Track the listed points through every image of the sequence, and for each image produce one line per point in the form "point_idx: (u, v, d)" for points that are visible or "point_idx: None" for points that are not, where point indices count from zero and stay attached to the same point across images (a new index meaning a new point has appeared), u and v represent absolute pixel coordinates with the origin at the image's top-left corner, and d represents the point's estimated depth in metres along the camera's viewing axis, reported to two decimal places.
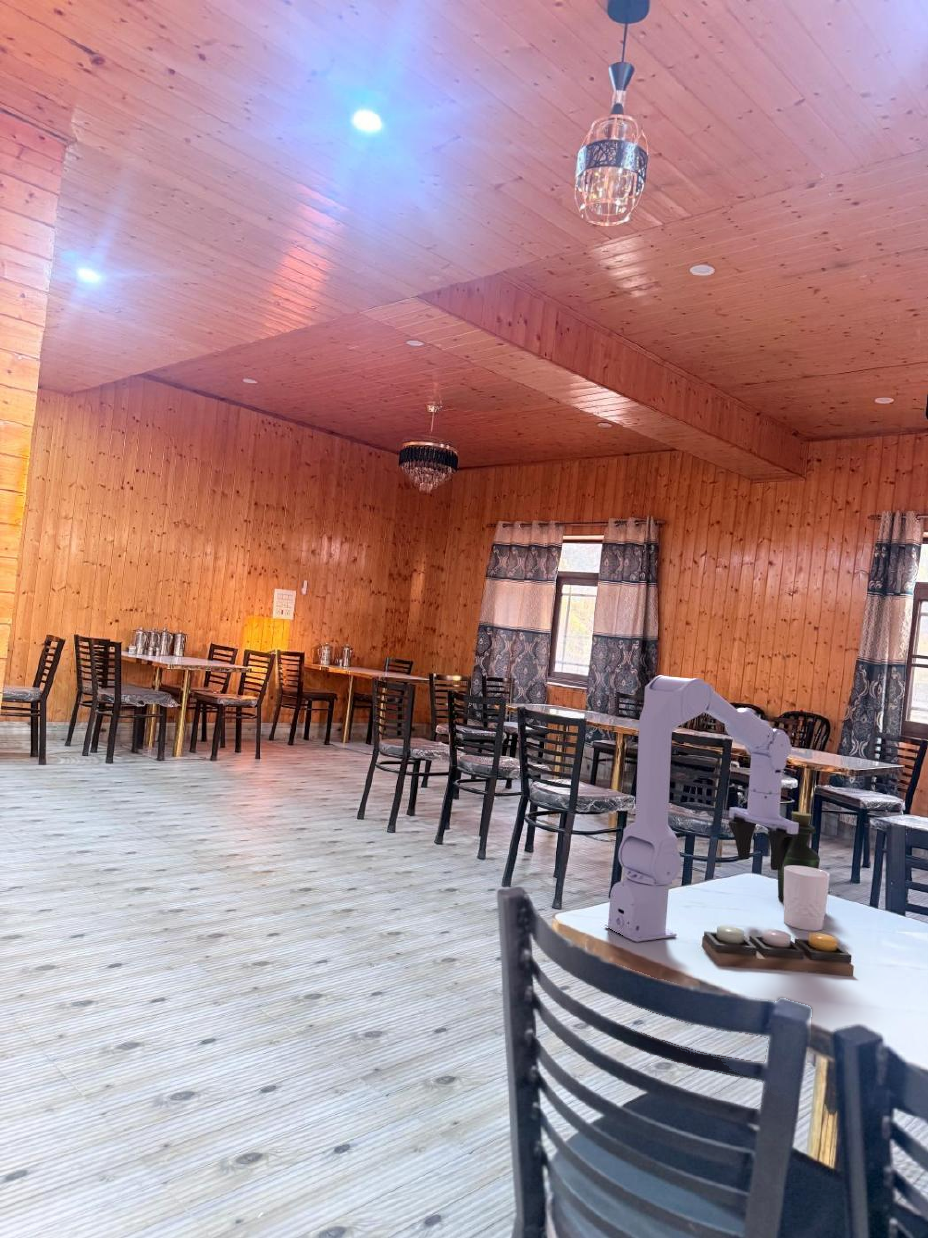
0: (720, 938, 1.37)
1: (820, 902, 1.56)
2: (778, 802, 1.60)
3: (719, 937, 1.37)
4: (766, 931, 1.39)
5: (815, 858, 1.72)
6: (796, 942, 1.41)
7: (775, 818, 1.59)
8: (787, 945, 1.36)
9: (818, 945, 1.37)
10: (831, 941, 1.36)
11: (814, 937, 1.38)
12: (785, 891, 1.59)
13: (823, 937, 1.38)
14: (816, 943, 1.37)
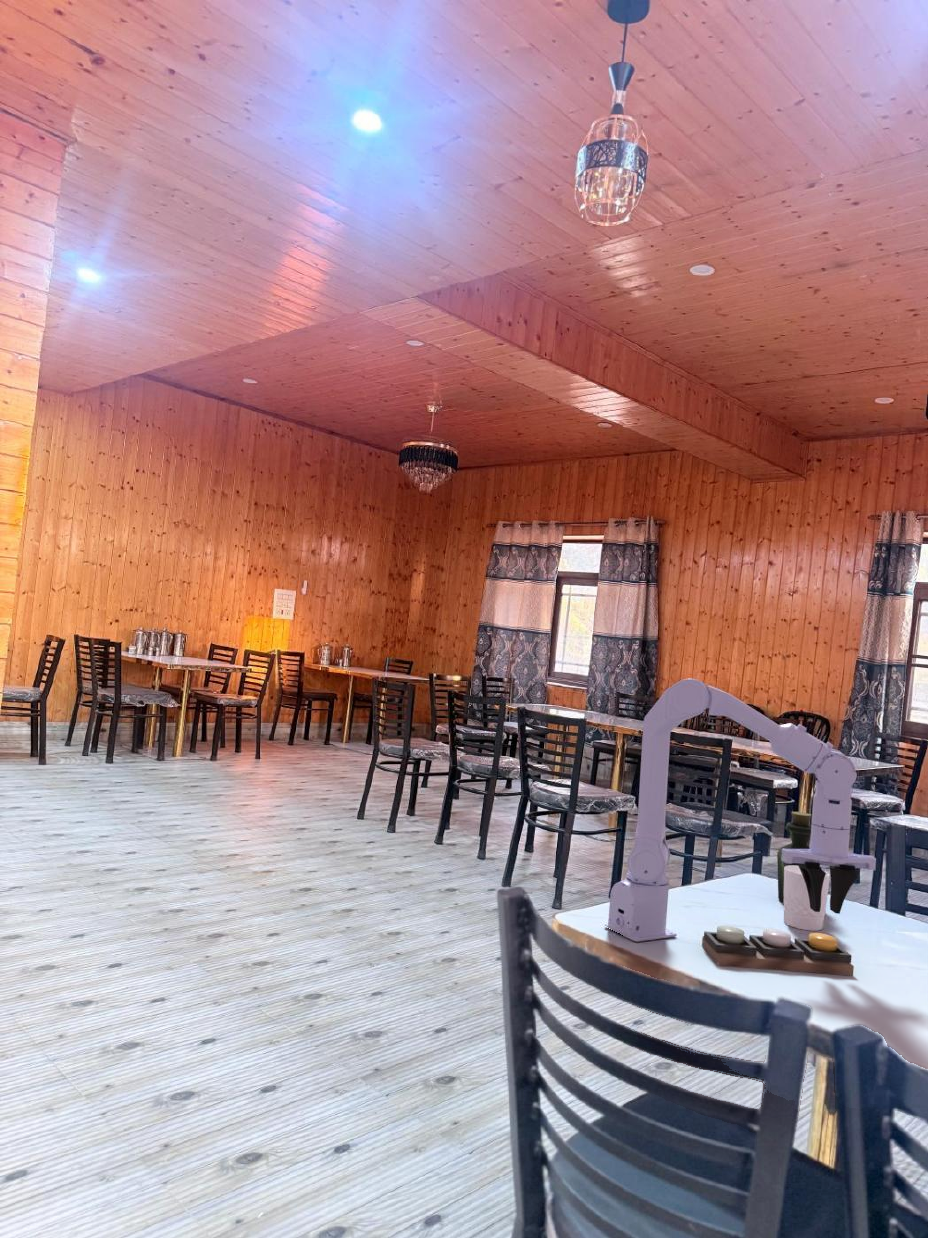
0: (720, 938, 1.37)
1: None
2: (814, 835, 1.38)
3: (719, 937, 1.37)
4: (766, 931, 1.39)
5: None
6: (796, 942, 1.41)
7: (809, 851, 1.39)
8: (787, 945, 1.36)
9: (818, 945, 1.37)
10: (831, 941, 1.36)
11: (814, 937, 1.38)
12: (785, 891, 1.59)
13: (823, 937, 1.38)
14: (816, 943, 1.37)
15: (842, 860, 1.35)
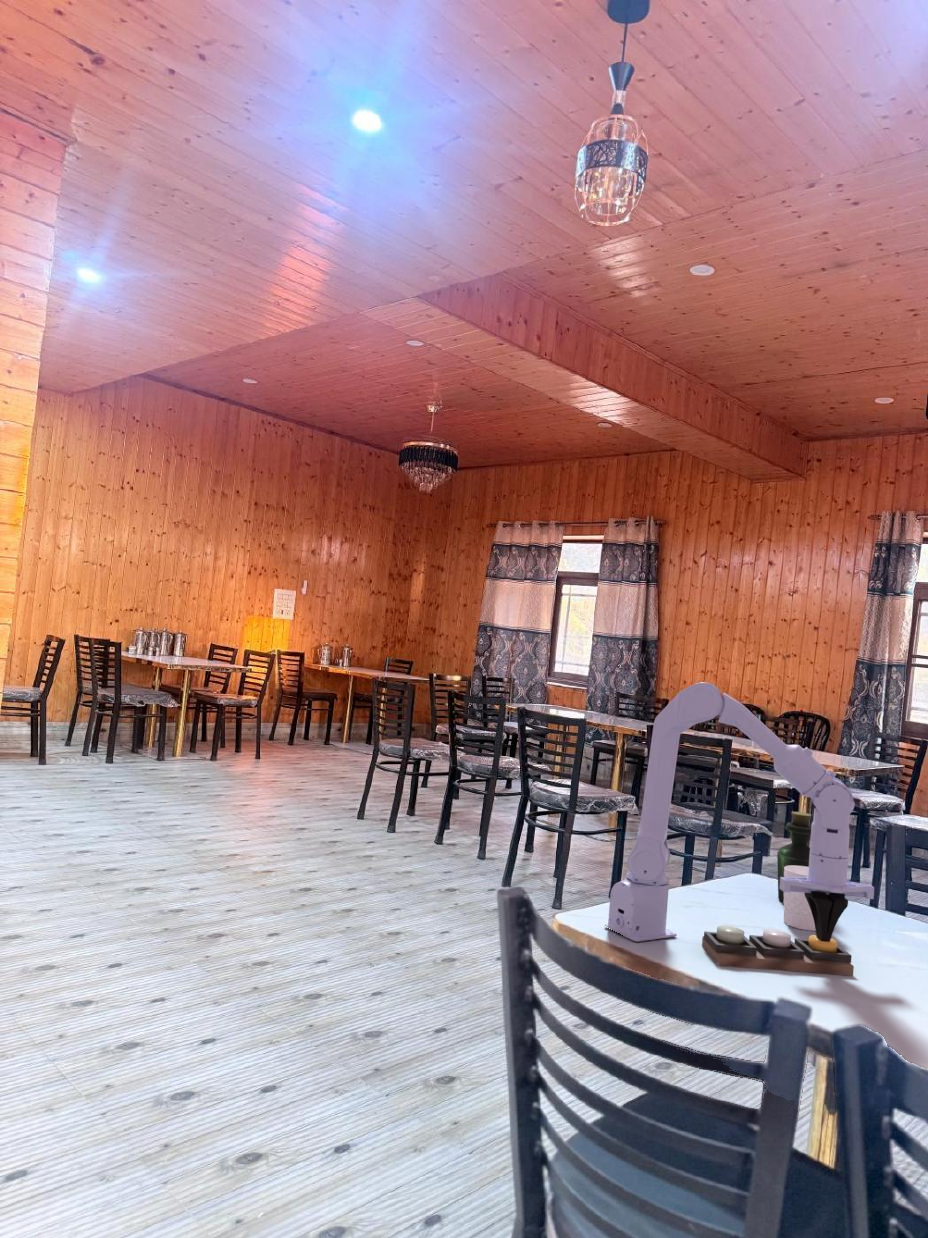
0: (720, 938, 1.37)
1: None
2: (813, 863, 1.38)
3: (719, 937, 1.37)
4: (766, 931, 1.39)
5: None
6: (796, 942, 1.41)
7: (808, 880, 1.39)
8: (787, 945, 1.36)
9: (817, 947, 1.37)
10: (831, 943, 1.36)
11: (814, 939, 1.38)
12: None
13: None
14: (816, 945, 1.37)
15: (840, 889, 1.35)
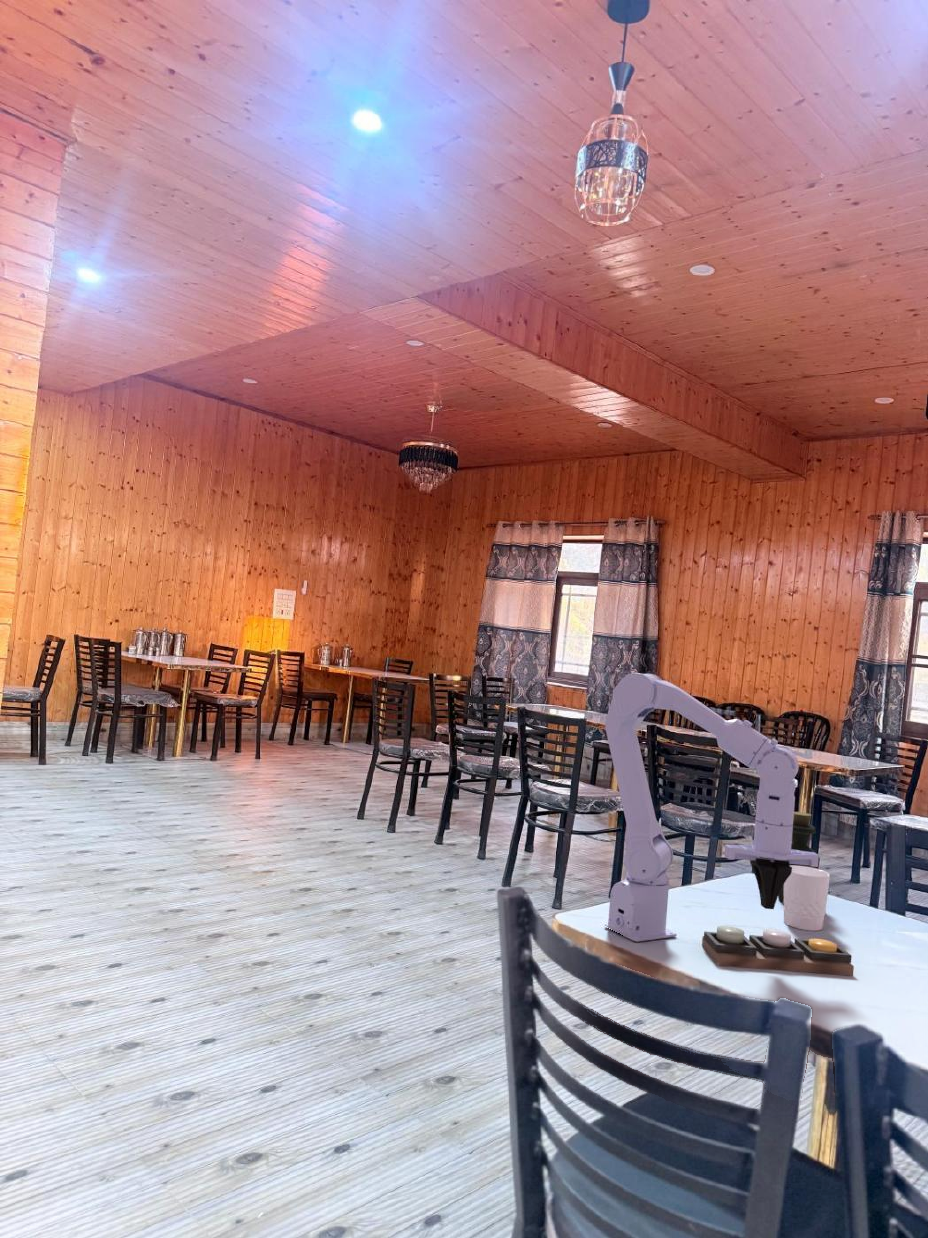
0: (720, 938, 1.37)
1: (820, 902, 1.56)
2: (758, 831, 1.38)
3: (719, 937, 1.37)
4: (766, 931, 1.39)
5: None
6: (796, 942, 1.41)
7: (753, 848, 1.39)
8: (787, 945, 1.36)
9: (817, 950, 1.37)
10: (831, 947, 1.36)
11: (814, 943, 1.38)
12: (785, 891, 1.59)
13: (823, 943, 1.38)
14: (815, 949, 1.37)
15: (784, 856, 1.35)
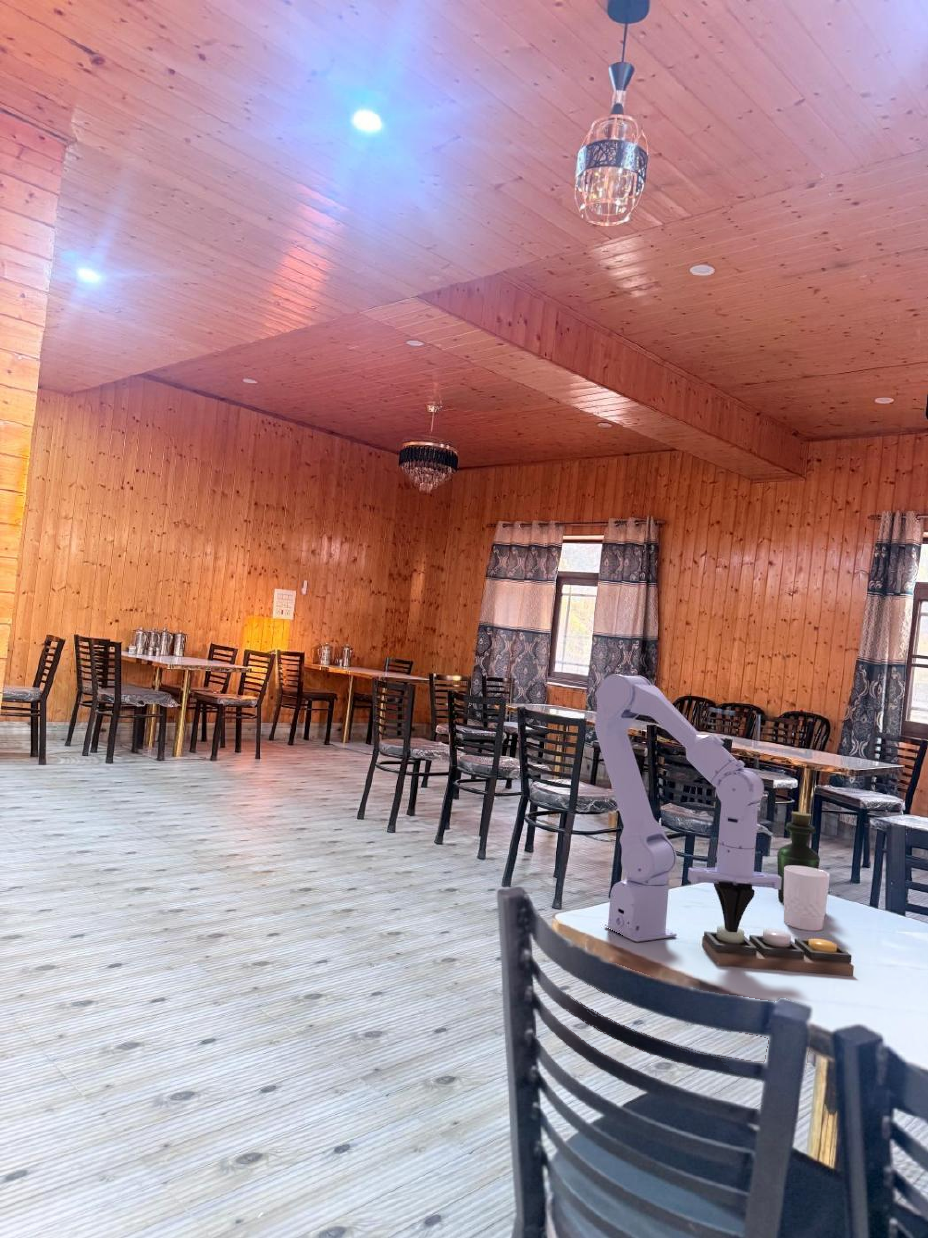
0: (720, 938, 1.37)
1: (820, 902, 1.56)
2: (720, 854, 1.38)
3: (719, 937, 1.37)
4: (766, 931, 1.39)
5: (815, 858, 1.72)
6: (796, 942, 1.41)
7: (715, 870, 1.38)
8: (787, 945, 1.36)
9: (817, 950, 1.37)
10: (831, 947, 1.36)
11: (814, 943, 1.38)
12: (785, 891, 1.59)
13: (823, 943, 1.38)
14: (815, 949, 1.37)
15: (745, 880, 1.34)
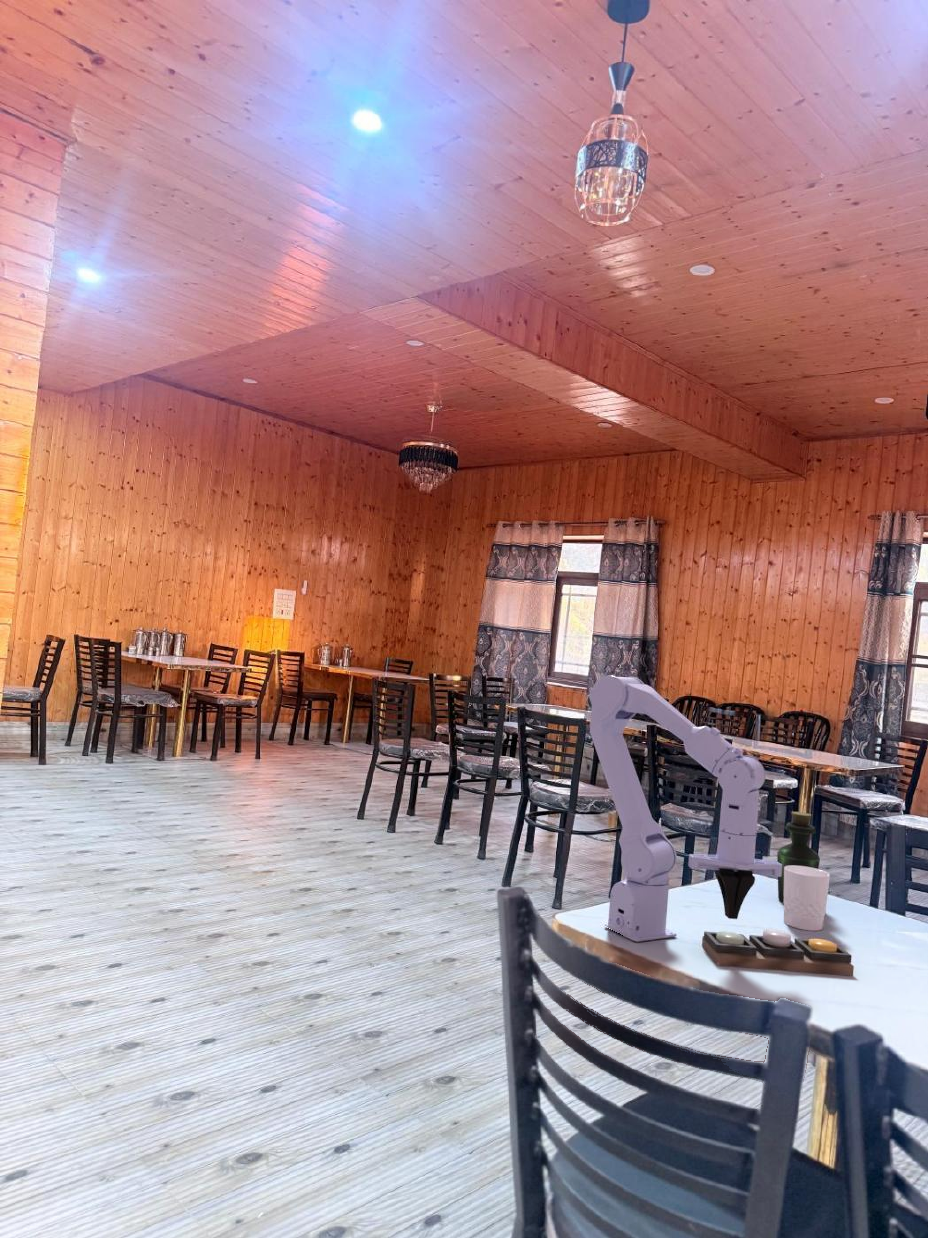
0: None
1: (820, 902, 1.56)
2: (721, 841, 1.38)
3: (719, 943, 1.37)
4: (766, 931, 1.39)
5: (815, 858, 1.72)
6: (796, 942, 1.41)
7: (716, 857, 1.39)
8: (787, 945, 1.36)
9: (817, 950, 1.37)
10: (831, 947, 1.36)
11: (814, 943, 1.38)
12: (785, 891, 1.59)
13: (823, 943, 1.38)
14: (815, 949, 1.37)
15: (746, 866, 1.34)
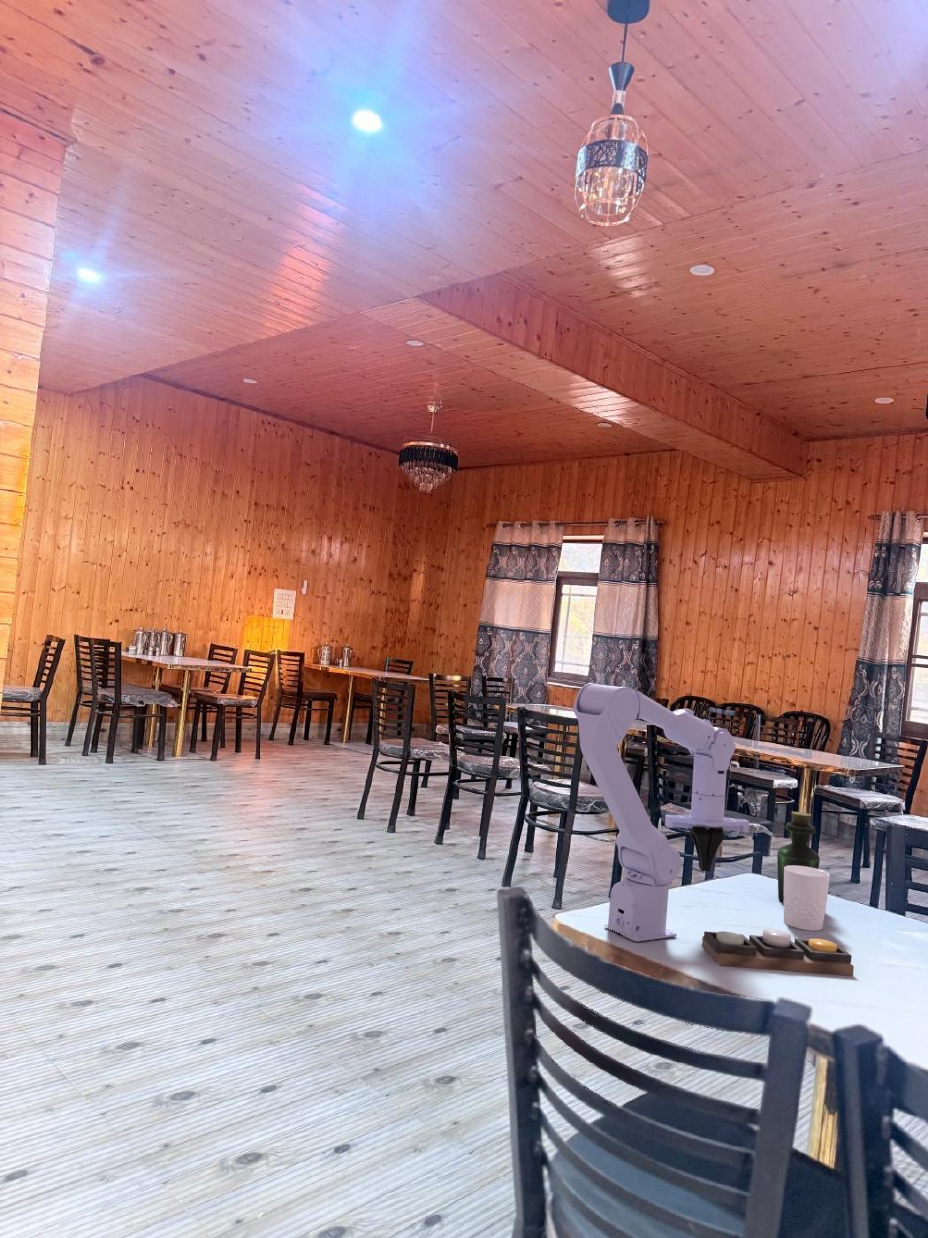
0: None
1: (820, 902, 1.56)
2: (693, 801, 1.53)
3: (719, 943, 1.37)
4: (766, 931, 1.39)
5: (815, 858, 1.72)
6: (796, 942, 1.41)
7: (690, 817, 1.54)
8: (787, 945, 1.36)
9: (817, 950, 1.37)
10: (831, 947, 1.36)
11: (814, 943, 1.38)
12: (785, 891, 1.59)
13: (823, 943, 1.38)
14: (815, 949, 1.37)
15: (715, 823, 1.50)
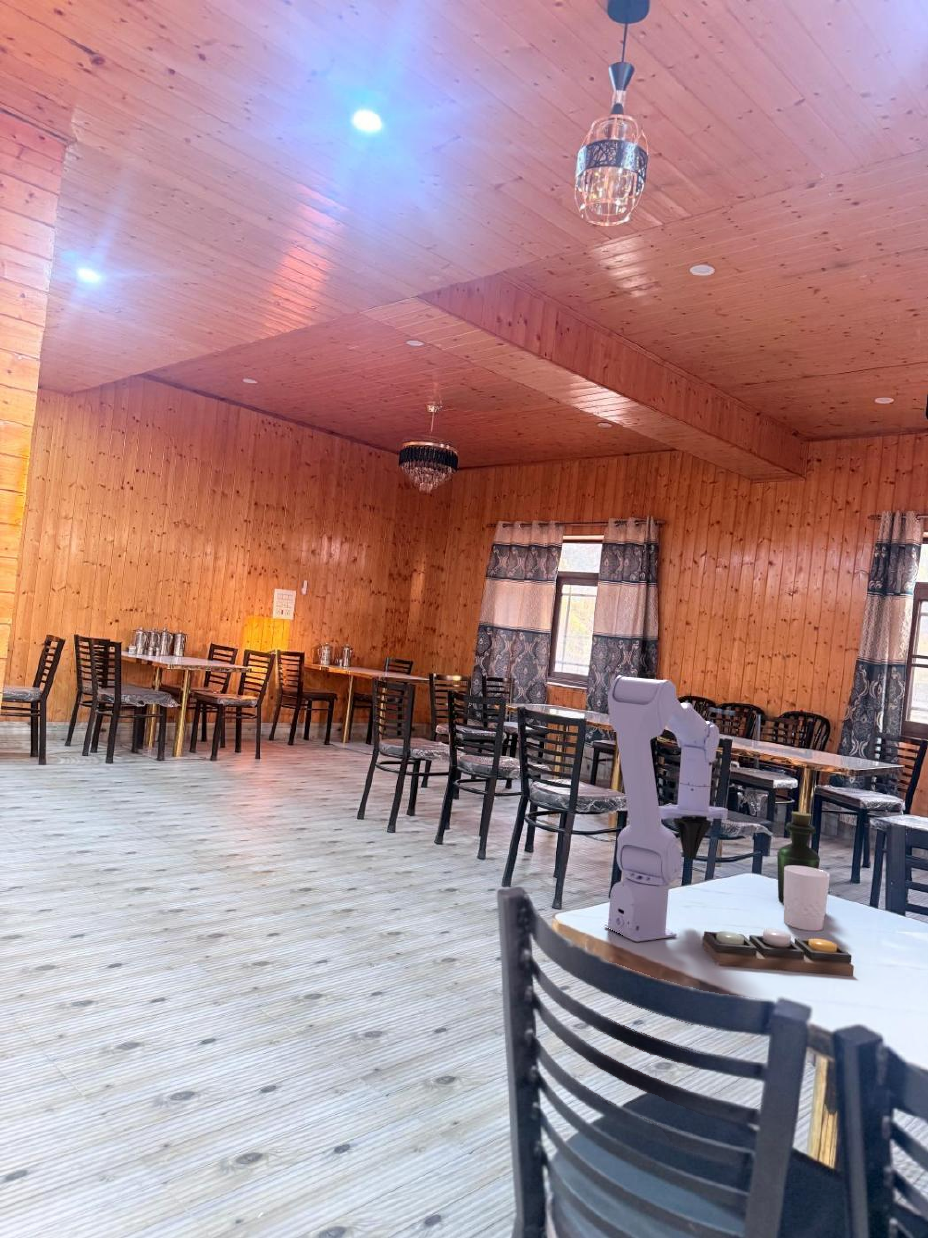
0: None
1: (820, 902, 1.56)
2: (684, 792, 1.59)
3: (719, 943, 1.37)
4: (766, 931, 1.39)
5: (815, 858, 1.72)
6: (796, 942, 1.41)
7: (679, 807, 1.60)
8: (787, 945, 1.36)
9: (817, 950, 1.37)
10: (831, 947, 1.36)
11: (814, 943, 1.38)
12: (785, 891, 1.59)
13: (823, 943, 1.38)
14: (815, 949, 1.37)
15: (708, 812, 1.57)
